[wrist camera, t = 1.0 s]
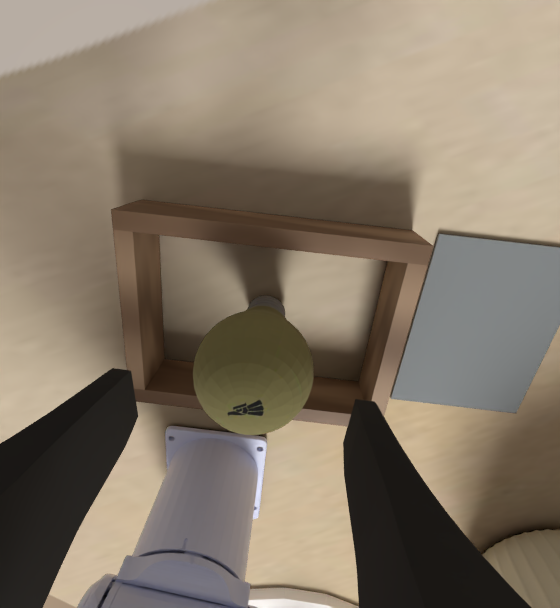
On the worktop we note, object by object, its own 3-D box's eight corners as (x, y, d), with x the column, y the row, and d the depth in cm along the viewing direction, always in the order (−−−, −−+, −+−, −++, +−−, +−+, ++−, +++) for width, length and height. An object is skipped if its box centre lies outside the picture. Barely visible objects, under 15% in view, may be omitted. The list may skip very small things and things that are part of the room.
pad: (514, 411, 25) (516, 413, 25) (390, 396, 25) (391, 398, 25) (593, 250, 20) (595, 251, 20) (438, 233, 20) (439, 234, 20)
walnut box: (369, 394, 25) (379, 430, 22) (151, 368, 25) (130, 400, 22) (412, 230, 20) (433, 246, 17) (140, 199, 20) (111, 209, 17)
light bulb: (277, 249, 21) (260, 327, 12) (326, 318, 23) (342, 431, 14) (207, 296, 23) (146, 395, 14) (258, 357, 24) (233, 481, 15)
